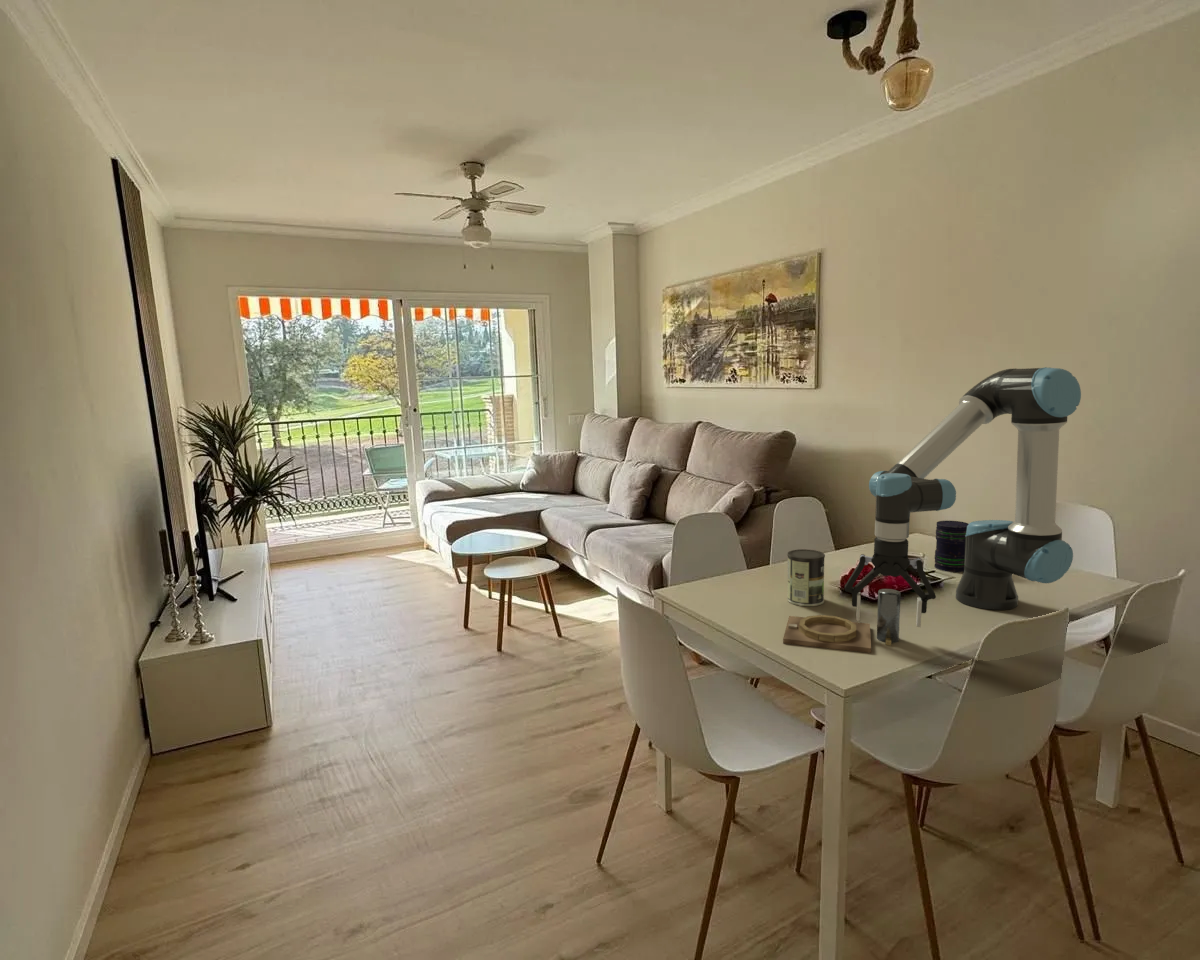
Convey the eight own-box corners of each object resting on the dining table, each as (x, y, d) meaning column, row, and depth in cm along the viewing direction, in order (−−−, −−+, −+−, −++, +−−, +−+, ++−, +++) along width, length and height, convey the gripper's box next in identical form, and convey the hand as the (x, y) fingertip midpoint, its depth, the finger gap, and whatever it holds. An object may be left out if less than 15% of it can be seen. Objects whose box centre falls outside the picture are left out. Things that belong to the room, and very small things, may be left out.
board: (869, 628, 168) (869, 617, 168) (871, 653, 153) (871, 641, 153) (789, 620, 175) (789, 610, 175) (783, 643, 161) (783, 632, 160)
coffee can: (821, 595, 194) (822, 549, 192) (826, 607, 184) (827, 558, 182) (785, 594, 196) (786, 548, 194) (788, 606, 186) (788, 558, 184)
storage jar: (927, 564, 220) (929, 521, 218) (955, 562, 221) (957, 519, 219) (946, 573, 210) (948, 528, 208) (974, 571, 211) (977, 526, 209)
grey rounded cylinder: (897, 633, 164) (899, 587, 162) (899, 646, 156) (901, 598, 155) (876, 631, 166) (877, 586, 164) (877, 644, 158) (878, 596, 156)
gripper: (947, 537, 156) (942, 622, 159) (836, 531, 165) (834, 611, 168) (951, 545, 149) (946, 633, 152) (835, 538, 158) (833, 621, 161)
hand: (887, 622), depth 160 cm, fingers open, 13 cm apart
